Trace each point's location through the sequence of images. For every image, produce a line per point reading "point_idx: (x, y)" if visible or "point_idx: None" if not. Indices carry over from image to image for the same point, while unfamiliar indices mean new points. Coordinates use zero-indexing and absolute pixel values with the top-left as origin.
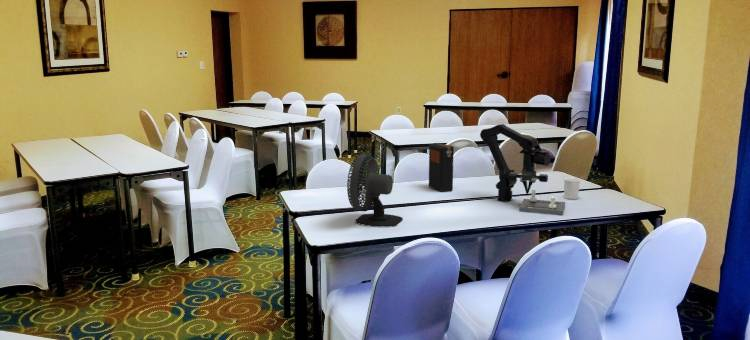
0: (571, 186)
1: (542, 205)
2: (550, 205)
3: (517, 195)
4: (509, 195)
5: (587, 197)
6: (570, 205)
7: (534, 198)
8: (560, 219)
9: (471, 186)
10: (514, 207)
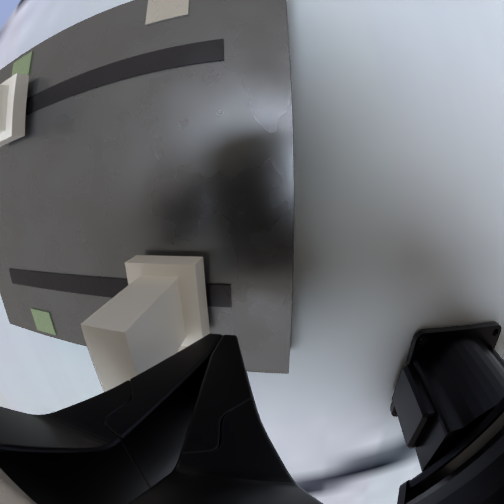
0: None
1: (70, 152)
2: (8, 92)
3: (338, 475)
4: (433, 383)
5: None
6: (18, 329)
7: (137, 280)
8: (25, 4)
9: None
10: (361, 119)
